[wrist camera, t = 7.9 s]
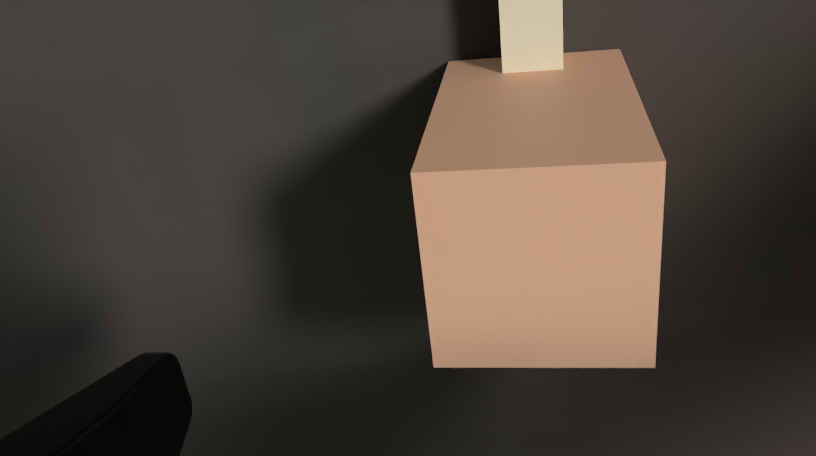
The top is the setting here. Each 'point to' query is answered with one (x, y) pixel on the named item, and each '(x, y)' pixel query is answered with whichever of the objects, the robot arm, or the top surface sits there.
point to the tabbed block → (540, 206)
